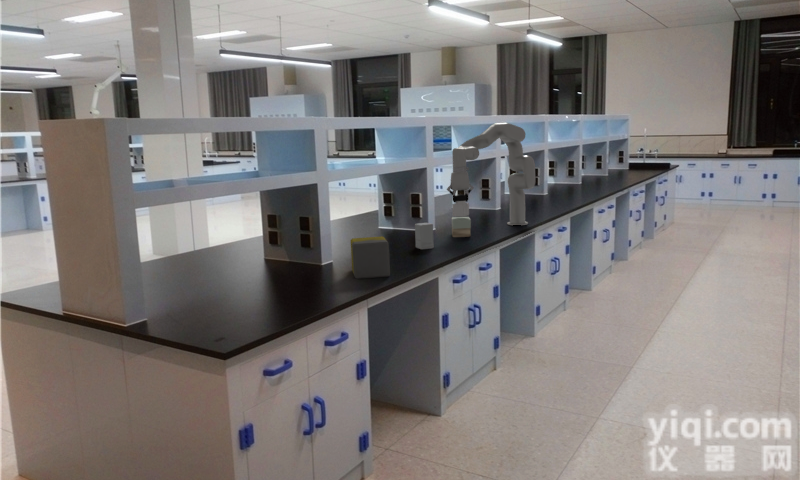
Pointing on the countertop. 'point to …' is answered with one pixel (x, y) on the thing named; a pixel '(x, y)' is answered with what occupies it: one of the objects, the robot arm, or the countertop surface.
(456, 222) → the tower top block
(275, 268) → the countertop surface
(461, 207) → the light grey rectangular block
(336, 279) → the countertop surface
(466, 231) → the tower base block
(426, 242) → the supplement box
